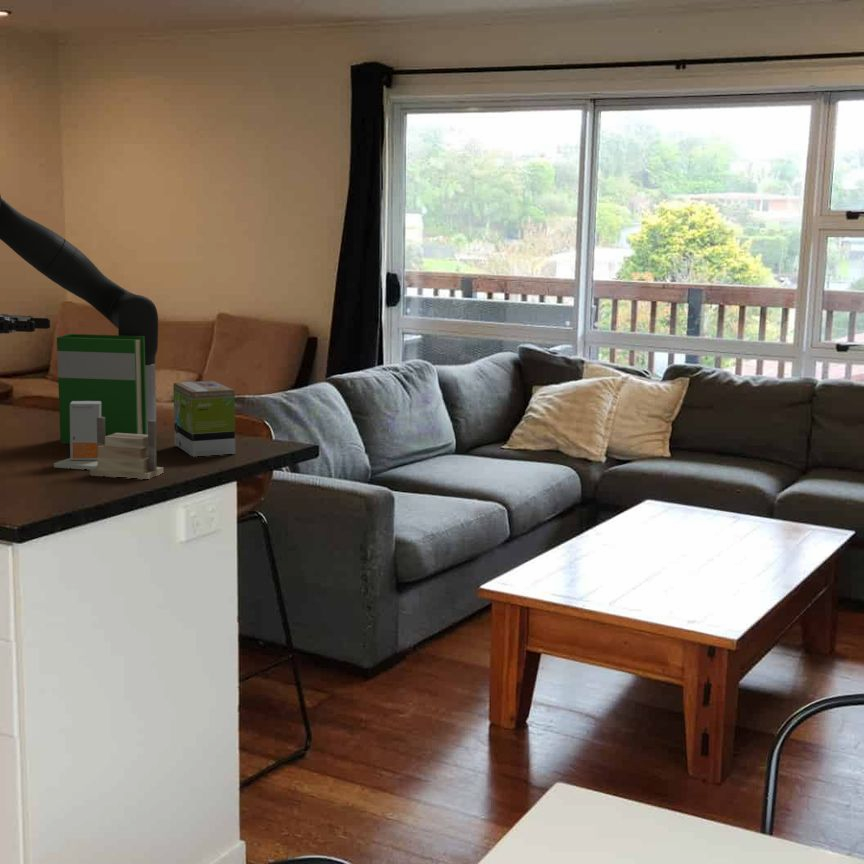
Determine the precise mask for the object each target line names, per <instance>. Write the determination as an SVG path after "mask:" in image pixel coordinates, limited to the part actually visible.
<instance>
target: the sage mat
mask: <svg viewBox="0 0 864 864" xmlns="http://www.w3.org/2000/svg"><path fill="white" fill-rule="evenodd" d="M96 467H98V461H96V460H70V457H69V458H66V459H63V460H59V461H57V462H54V463H53V468H60V469H70V468H71V469H74V470H84V469H87V471H90V469H93V468H96Z"/></svg>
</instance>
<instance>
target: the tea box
mask: <svg viewBox="0 0 864 864" xmlns="http://www.w3.org/2000/svg"><path fill="white" fill-rule="evenodd" d="M235 393H236V391H235V389H233V388H231V387H229V386H226V385H224V384H222V383H220V382H218V381H215V380H204V381H203V380H202V381H199V380H198V381H186V382H185V381H184V382H174V383H173V416H174V418H173V427H174V445H175V446H176V447H178V448H179V449H180V450H182V451H184V452H185V453H186V454H188V455H189V456H191V457H192V456H193V457H192V458H198V457H197V456H206V457H211V456H210V455H220V456H224V455H223V454H232V455H235V454H236V411H235V409H236V402H235V401H236V397H235V396H236V395H235ZM195 456H196V457H195Z"/></svg>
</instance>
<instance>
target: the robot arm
mask: <svg viewBox="0 0 864 864" xmlns="http://www.w3.org/2000/svg"><path fill="white" fill-rule="evenodd" d="M0 241H1V242H3V243H4V244H6V245H7V247H9V248H10V249H11V250H12V251H13V252H15V253H16V254H17V255H18V256H19V257H20V258H21V259H22V260H24V261H25V262H26V263H28V264H29V265H30V266H32V267H33V268H35V270H37V271H38V272H39V273H41V274H42V275H43V276H45V277H46V278H48V279H49V280H50V281H51V282H53V283H55V284H56V285H59V287H61V288H63V289H64V290H66V291H68V292H69V293H71V294H72V295H74V296H76V297H78V298H80V299H82V300H83V301H85V302H86V303H88V304H90V306H92V307H93V308H94V309H95V310H96V311H97V312H99V313H100V314H101V315H102V316H103V317H105V318H106V320H108V321H109V322H110V323H111V325H113V326H114V327H115V328H116V329H118V335H121V336H145V375H146V419H147V435H148V421H149V420H156V421H157V395H156V394H157V393H156V392H157V391H156V390H157V389H156V387H157V386H156V355H157V352H158V347H159V346H158V345H159V314H158V309H157V306H156V305H155V303H154V302H153V301H152V300H151V299H150V298H148V297H147V296H144V295H142V294H141V295H140V294H136V293H133V292H131V291H128V289H126V288H123V287H122V286H120V285H119V284H118V283H115V282H114V281H112V280H111V279H110V278H108V277H107V276H105V274H103V272H102V271H101V270H100V269H99V268H98V267H97V266H96V265H95V264H94V262H93V261H92V260H90V259H89V257H88V256H87V255H85V254H84V252H83V251H81V250H80V249H78V248H77V247H76V246H75V245H74V244H72V242H70V241H68V240H67V239H66V238H64V237H62V235H60V234H58V233H56V232H54V230H51V229H50V228H48V227H46V226H44V225H43V224H41V223H39V222H37V221H35V220H34V219H31V218H29V217H27V216H26V215H24V214H23V213H21V212H19V211H18V210H17V209H16V208H14V207H13V206H12V205H11V204H9V202H7V201H6V200H5V199H4V198H2V195H1V194H0ZM50 327H51V319H50V318H49V317H34V316H33V315H28V316H27V315H26V316H25V315H23V316H22V315H21V314H8V313H0V335H2V334H4V335H7V334H8V335H9V334H14V333H16V332H19V333H20V332H22V333H23V332H24V333H33V332H35V331H36V329H40V330H41V329H42V330H43V329H45V330H48V329H50Z"/></svg>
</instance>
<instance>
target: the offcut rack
mask: <svg viewBox="0 0 864 864" xmlns="http://www.w3.org/2000/svg"><path fill="white" fill-rule="evenodd" d="M157 455H158V453H157V419H156V420H149V421H148V435H143V434H128V433H114V434H111V435H108V436H105V417H97V460H98V467H96V468H93V469H90V470H89V476H90V475H91V477H93V476H95V477H103V476H105V477H107V478H116V477H127V478H126V479H130V478H138V479H137V480H143V479H149V480H151V479H153V477H154V478H155V476H156V477H158V476H161V475H163V474H164V472H165V470H164V469H165V468H164V467H163V466H162V467H161V466H157V465H158V463H157V460H158V459H157ZM162 473H163V474H162ZM160 474H161V475H160ZM150 478H151V479H150Z"/></svg>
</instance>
